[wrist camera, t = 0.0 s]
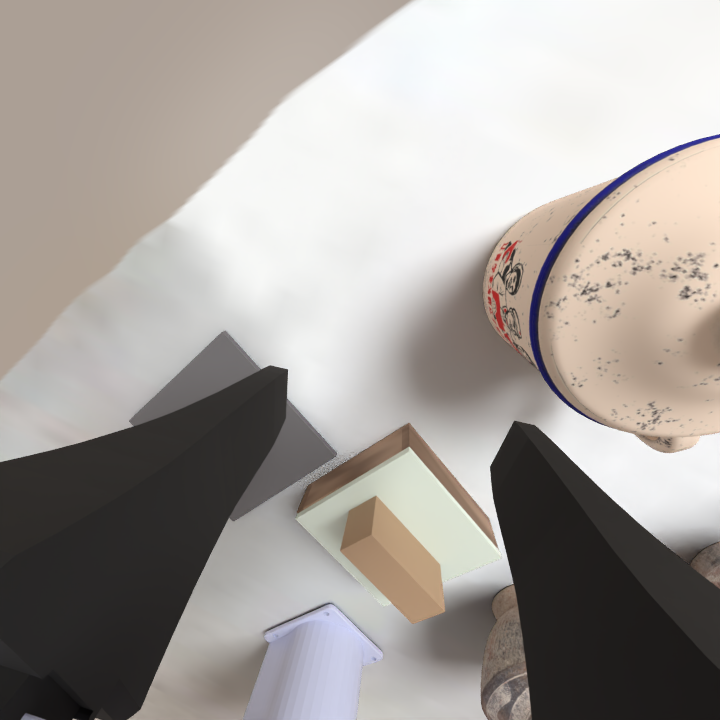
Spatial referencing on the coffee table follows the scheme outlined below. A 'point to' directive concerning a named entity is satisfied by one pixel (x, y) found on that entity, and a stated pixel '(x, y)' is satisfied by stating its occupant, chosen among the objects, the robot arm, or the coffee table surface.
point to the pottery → (507, 658)
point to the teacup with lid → (623, 297)
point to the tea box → (382, 453)
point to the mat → (214, 373)
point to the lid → (400, 535)
